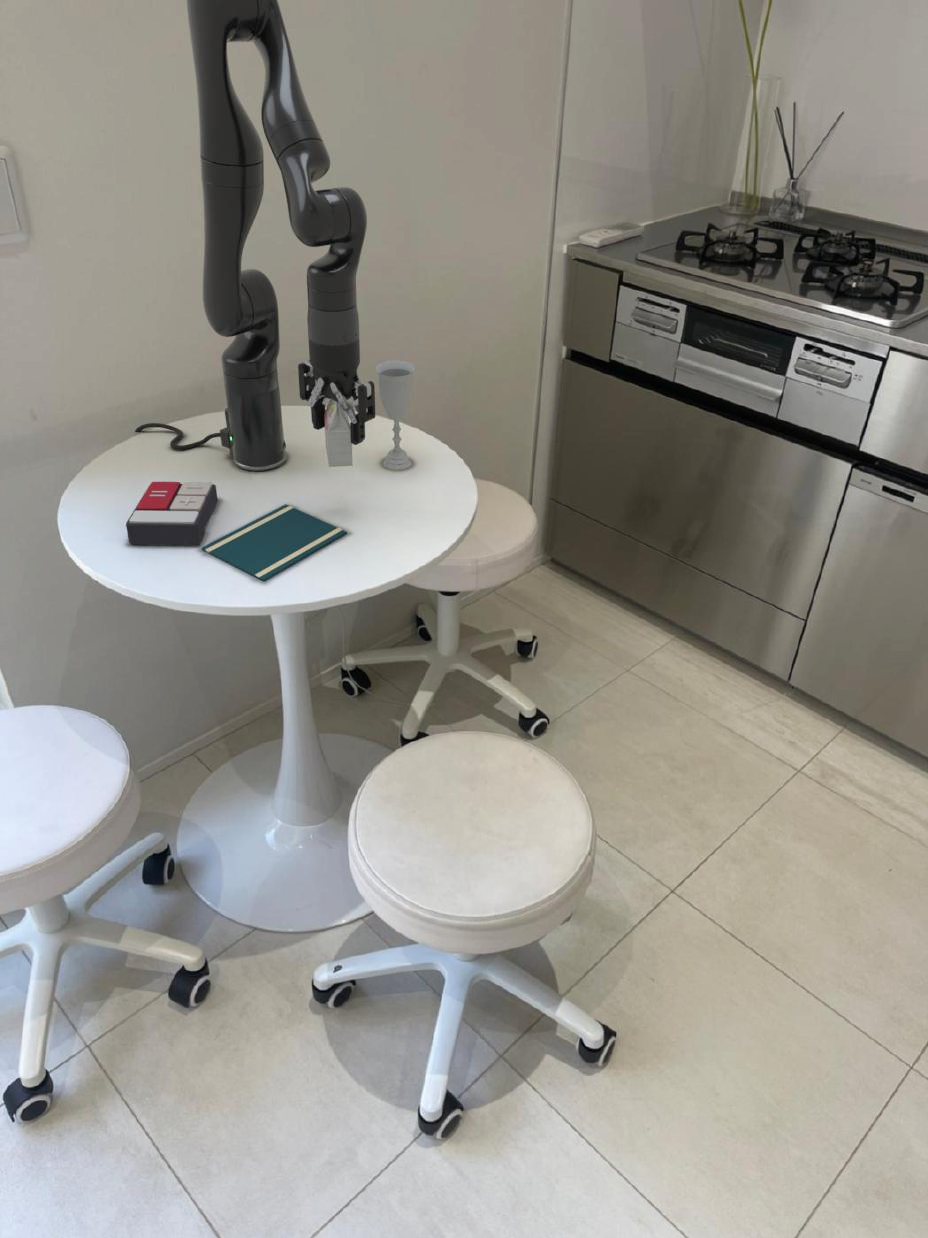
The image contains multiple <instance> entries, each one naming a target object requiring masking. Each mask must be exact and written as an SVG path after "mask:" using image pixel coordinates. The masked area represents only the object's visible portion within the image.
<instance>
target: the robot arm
mask: <svg viewBox="0 0 928 1238" xmlns="http://www.w3.org/2000/svg"><path fill="white" fill-rule="evenodd" d="M186 12H187V21H188V28H189V36H190V43H191V51H192V59H193V66H194V74H195V82H196V94H197V108H198V125H199V126H198V127H199V160H200V178H201V187H202V200H203V201H202V202H203V204H202V205H203V235H204V236H203V238H204V241H203V242H204V243H203V267H202V268H203V269H202V272H203V273H202V305H203V310H204V314H205V317H206V320H207V322H208V324H209V326H210V327H211V329H212V330H213V331H214V332H215V333H216V334H217V335H219V336H221V337H224V338H230V337H231V338H232V337H234V338H233V340H232V342H231V343H229V345H228V346H227V347H226V348H225V349H224V350H223V351H222V354H221V359H220V361H221V369H222V376H223V383H224V393H225V399H226V408H225V409H224V416H225V417H224V418H225V424H226V427H224V428H221V429H219V432H215V433H211V434H208V435H207V436H205V437H204V438H203V439H201V440H199V441H196V442H192V443H189V444H181V445H180V444H179V445H178V444H176V443H178V441H180V440H181V439H182V438H183V436H184V432H183V430H181V429H180V428H177V427H175V426H172V425H169V424H165V423H160V422H150V423H143V424H141V425H140V426H138V427H136V428H135V430H134V432H135V433H140V432H141V431H143V430H145V429H149V428H161V429H165V430H169V431H172V432H175V433H176V434H177V435H176V436H175V437H174V438H173V439H171V440H170V442H169V446H170V448H171V449H174V450H179V451H183V450H190V449H193V448H197V447H199V446H202V445H204V444H207V442H209V441H210V440H212V439H215V438H220V443H221V447H224V448H226V449H229V456H230V459H232V460H233V463H234V465H235V466H237V467H238V468H240V469H243V470H247V471H253V472H254V471H255V472H258V471H259V472H260V471H268V470H272V469H276V468H278V467H279V466H282V465H283V464H284V463H285V462H286V460H287V452H286V449H287V444H286V441H285V433H284V423H283V413H282V403H281V393H280V382H279V374H278V356H279V354H280V346H281V345H280V343H281V341H280V317H279V316H280V315H279V305H278V298H277V294H276V291H275V288H274V285H273V283H272V282H271V280H270V278H269V277H268V276H267V274H265V273H264V272H263V271H261V270H259V269H257V268H256V269H255V268H247V269H243V270H242V260H243V259H242V258H243V252H244V248H245V245H246V242H247V238H248V237H249V233H250V231H251V229H252V227H253V225H254V222H255V220H256V217H257V214H258V212H259V209H260V206H261V204H262V200H263V197H264V191H265V165H264V164H265V162H264V161H265V160H264V146H263V143H262V140H261V137H260V134H259V131H258V130H257V128H256V126H255V125H254V122H253V121H252V119H251V117H250V115H249V114H248V112H247V110H246V109H245V107H244V106H243V103H242V102H241V100H240V98H239V96H238V95H237V92H236V90H235V88H234V85H233V81H232V78H231V72H230V67H229V66H230V65H229V58H228V43H253V44H254V46H255V47H256V49H257V51H258V53H259V56H260V57H261V60H262V63H263V67H264V84H263V91H262V98H261V107H260V108H261V109H260V116H261V117H260V118H261V124H262V130H263V133H264V135H265V138H266V141H267V144H268V146H269V149H270V150H271V153H272V155H273V157H274V159H275V162H276V164H277V166H278V168H279V171H280V174H281V178H282V184H283V188H284V194H285V199H286V205H287V212H288V213H287V214H288V219H289V224H290V225H289V226H290V228H291V230H292V233H293V234H294V236H295V237H296V238H297V240H298V241H299V242H300V243H301V244H303V245H305V246H306V247H309V248H320V247H326V246H329V247H328V249H327V252H326V253H325V254H324V255H322V256H321V257H320V258H317V259H316V260H314V261H312V262H311V263H310V264H309V265H308V266H307V268H306V289H307V317H306V319H307V337H308V338H307V339H308V350H309V351H308V355H309V356H308V357H309V359H308V360H305V361H303V362H300V363H298V364H297V371H298V388H299V390H298V391H299V398H300V400H302V401H306V402H307V404H308V406H309V407H310V417H311V423H312V427H313V429H315V430H317V431H319V430H322V429H323V428H324V429H325V422H324V413H325V411H326V404H325V403H324V402H325V401H326V399H329V400H330V399H333V400H334V401H337V402H338V403H340V405H341V407H342V409H343V410H344V411H346V412H347V414H348V418H349V423H350V432H351V443H352V445H354V446H358V445H359V444H361V443H363V442H364V440H365V439H366V423H367V422H369V421H371V420H373V419H375V418H376V391H375V390H376V389H375V387H376V386H375V383H374V382H373V380H369V381H367V382H364V381H362V380H360V378H359V376H358V368H359V366H360V363H361V349H360V348H361V345H360V344H361V343H360V319H359V313H358V305H357V273H358V268H359V264H360V259H361V254H362V251H363V247H364V242H365V238H366V232H367V226H368V225H367V224H368V215H367V209H366V206H365V203H364V200H363V199H362V197H361V196H360V194H359V192H357V191H356V190H355V189H353V188H352V187H349V186H339V187H338V186H337V187H333V188H326V189H319V190H315V189H314V187H313V184H314V183H315V182H317V181H319V180H321V179H322V178H323V177H324V176H325V175H326V174H327V173H328V172H329V171H330V167H331V159H330V155H329V154H330V153H329V152H328V150H327V147H326V145H325V143H324V140H323V138H322V136H321V133H320V131H319V128H318V126H317V124H316V122H315V119H314V117H313V115H312V113H311V110H310V107H309V105H308V103H307V102H308V101H307V100H306V97H305V95H304V91H303V88H302V85H301V80H300V78H299V74H298V70H297V66H296V62H295V59H294V54H293V50H292V47H291V42H290V39H289V36H288V33H287V28H286V25H285V22H284V18H283V15H282V14H283V13H282V11H281V7H280V4H279V1H278V0H186ZM351 398H352V401H350V402H349V401H348V400H350V399H351ZM354 409H355V410H356V412H355V410H354Z"/></svg>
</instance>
